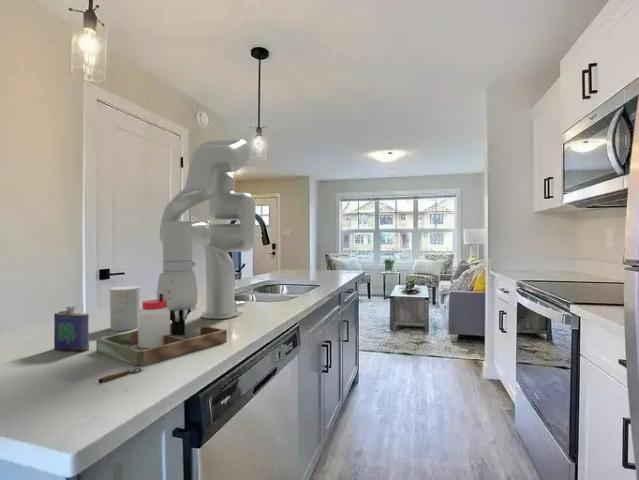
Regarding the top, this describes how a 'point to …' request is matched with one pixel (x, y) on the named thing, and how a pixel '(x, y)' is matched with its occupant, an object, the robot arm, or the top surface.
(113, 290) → the cup
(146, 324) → the pill bottle
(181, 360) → the top surface
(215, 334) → the wooden frame
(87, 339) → the flask
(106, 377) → the can opener
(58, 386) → the top surface
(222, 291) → the robot arm
